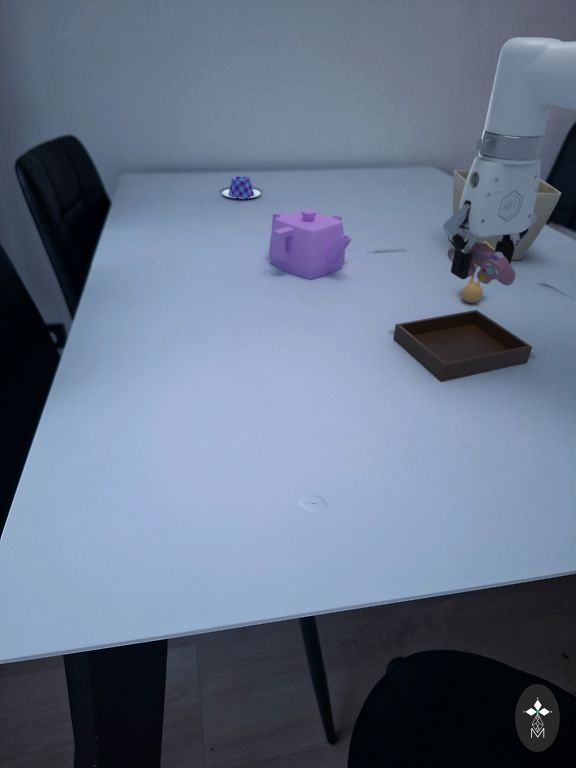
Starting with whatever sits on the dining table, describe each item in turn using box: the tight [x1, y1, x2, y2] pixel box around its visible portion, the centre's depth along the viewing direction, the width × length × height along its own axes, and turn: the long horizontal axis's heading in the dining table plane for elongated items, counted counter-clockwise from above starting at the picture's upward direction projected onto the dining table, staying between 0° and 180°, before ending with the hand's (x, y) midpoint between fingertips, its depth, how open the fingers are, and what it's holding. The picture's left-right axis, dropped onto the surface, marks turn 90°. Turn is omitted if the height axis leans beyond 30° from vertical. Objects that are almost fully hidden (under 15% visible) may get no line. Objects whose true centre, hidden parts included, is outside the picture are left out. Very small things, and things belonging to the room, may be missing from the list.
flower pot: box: [452, 169, 562, 261], centre depth 127 cm, size 19×19×17 cm
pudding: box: [221, 175, 261, 200], centre depth 166 cm, size 12×12×5 cm
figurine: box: [461, 241, 495, 304], centre depth 104 cm, size 8×6×12 cm
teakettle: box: [268, 208, 352, 280], centre depth 117 cm, size 17×17×12 cm
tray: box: [393, 309, 533, 382], centre depth 90 cm, size 17×14×3 cm
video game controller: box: [447, 240, 516, 286], centre depth 80 cm, size 10×5×7 cm, turn 39°
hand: (479, 271), depth 81 cm, fingers closed on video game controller, 7 cm apart
